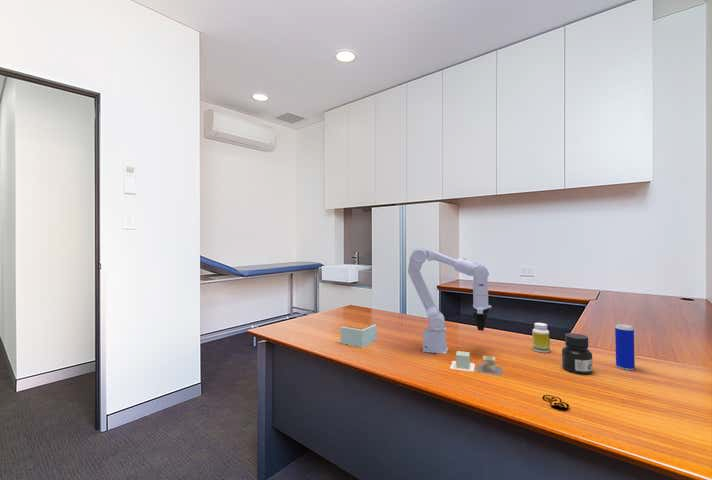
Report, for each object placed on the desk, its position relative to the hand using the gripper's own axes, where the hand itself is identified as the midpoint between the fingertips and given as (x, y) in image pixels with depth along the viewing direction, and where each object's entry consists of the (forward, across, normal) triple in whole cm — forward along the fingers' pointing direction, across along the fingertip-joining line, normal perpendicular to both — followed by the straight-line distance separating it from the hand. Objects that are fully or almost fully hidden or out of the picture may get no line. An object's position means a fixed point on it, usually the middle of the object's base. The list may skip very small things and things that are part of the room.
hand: (481, 327), depth 132 cm
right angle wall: (+10, -4, +53) cm, 54 cm away
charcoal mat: (+10, -18, -3) cm, 21 cm away
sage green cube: (+10, -18, +6) cm, 21 cm away
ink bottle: (+11, -5, -32) cm, 34 cm away
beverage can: (+11, +3, -48) cm, 49 cm away
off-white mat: (+10, -18, +6) cm, 21 cm away
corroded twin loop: (+11, -35, -21) cm, 43 cm away
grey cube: (+10, -18, -3) cm, 21 cm away
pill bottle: (+11, +13, -22) cm, 28 cm away
